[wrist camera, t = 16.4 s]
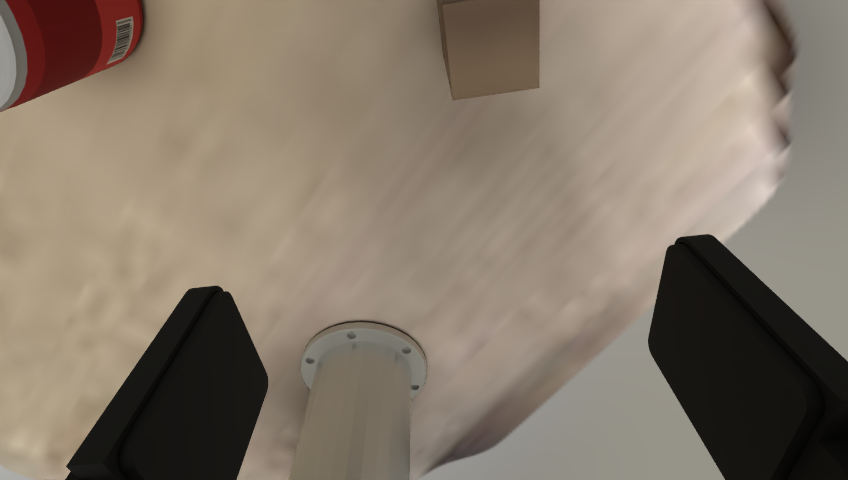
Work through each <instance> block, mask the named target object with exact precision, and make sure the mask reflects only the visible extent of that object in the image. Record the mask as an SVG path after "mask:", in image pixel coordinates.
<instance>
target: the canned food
mask: <svg viewBox="0 0 848 480" xmlns="http://www.w3.org/2000/svg"><path fill="white" fill-rule="evenodd" d="M142 25H143V13H142V5H141V1H140V0H0V112H1V111H4V110H6V109H9V108H12V107H15V106H18V105H20V104H23V103H25V102H27V101H30V100H32V99H35V98H37V97H39V96H42V95H44V94H47V93H49V92H51V91H54V90H56V89H59V88H61V87H64V86H66V85H68V84H71V83H73V82H76V81H78V80H80V79H83V78H85V77H88V76H90V75H93V74H95V73H97V72H100V71H102V70H105V69H107V68H109V67H112V66H114V65H116V64H118V63H120V62H122V61H123V60H125V59H126V58H127V57H128V56H129V55H130V54H131V52H132V51H133V49H134V47H135V46H136V44H137V43H138V41H139V38H140V35H141V32H142Z"/></svg>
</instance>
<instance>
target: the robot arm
mask: <svg viewBox="0 0 848 480" xmlns="http://www.w3.org/2000/svg"><path fill="white" fill-rule="evenodd" d="M648 344H649V350H650V352H651V355H652V357H653V358H654V360H655V362H656V363H657V365H658V367H659V369H660V370H661V372H662V374H663V375H664V377H665V379H666V380H667V382H668V384H669V385H670V387H671V389H672V390H673V392H674V394H675V396H676V397H677V399H678V401H679V402H680V404H681V406H682V407H683V409H684V411H685V413H686V414H687V416H688V418H689V419H690V421H691V423H692V424H693V426H694V428H695V429H696V431H697V433H698V435H699V436H700V438H701V440H702V441H703V443H704V445H705V446H706V448H707V449H708V451H709V453H710V455H711V456H712V458H713V460H714V462H715V463H716V465H717V466H718V468H719V470H720V472H721V473H722V475H723V476H724V478H725V480H848V362H847V361H846V360H845V359H844V358H843V357H842V356H841V355H840V354H839V353H838V352H837V351H836V350H835V349H834V348H833V347H832V346H830V345H829V344H828V343H827V342H826V341H825V340H824V339H823V338H822V337H821V336H820V335H819V334H818V333H817V332H816V331H814V330H813V329H812V328H811V327H810V326H809V325H808V324H807V323H806V322H805V321H804V320H803V319H802V318H801V317H799V316H798V315H797V314H796V313H795V312H794V311H793V310H792V309H791V308H790V307H789V306H788V305H787V304H786V303H784V302H783V301H782V300H781V299H780V298H779V297H778V296H777V295H776V294H775V293H774V292H773V291H772V290H771V289H769V287H767V286H766V285H765V284H764V283H763V282H762V281H761V280H760V279H759V278H758V277H757V276H756V275H755V274H754V273H752V272H751V271H750V270H749V269H748V268H747V267H746V266H745V265H744V264H743V263H742V262H741V261H740V260H739V259H738V258H736V257H735V256H734V255H733V254H732V253H731V252H730V251H729V250H728V249H727V248H726V247H725V246H724V245H723V244H722V243H721V242H719V241H718V240H717V239H716V238H715V237H714V236H712V235H709V234H706V235H696V236H687V237H680V238H678V239H677V240H676V241H675V244H674V245H671V246H669V247H668V248H667V251H666V255H665V260H664V265H663V270H662V275H661V279H660V284H659V289H658V294H657V299H656V303H655V308H654V313H653V318H652V323H651V327H650V333H649V338H648ZM300 369H301V375H302V378H303V380H304V382H305V384H306V386H307V387H308V388H309V389H310V395H309V399H308V403H307V407H306V411H305V415H304V420H303V424H302V428H301V432H300V436H299V440H298V444H297V448H296V452H295V457H294V461H293V465H292V469H291V473H290V477H289V480H409V471H410V418H411V399H413V398H414V397H415V396H416V395H417V394H418V393H419V392H420V391H421V390H422V388H423V386H424V384H425V381H426V376H427V364H426V359H425V356H424V354H423V352H422V350H421V348H420V347H419V346H418V345H417V344H416V342H415V341H413V340H412V339H411V338H410V337H408V336H407V335H405V334H404V333H402V332H400V331H398V330H396V329H393V328H391V327H388V326H385V325H380V324H375V323H365V322H356V323H346V324H341V325H337V326H334V327H331V328H329V329H326V330H324V331H323V332H321V333H319V334H318V335H316V336H315V337H314V338H313V339H312V340H311V341H310V342H309V344H308V345H307V347H306V348H305V350H304V354H303V357H302V360H301V367H300ZM267 389H268V376H267V373H266V371H265V368H264V366H263V364H262V362H261V360H260V357H259V355H258V353H257V351H256V348H255V346H254V344H253V342H252V340H251V337H250V335H249V333H248V331H247V328H246V326H245V324H244V322H243V320H242V317H241V315H240V313H239V311H238V308H237V306H236V304H235V302H234V300H233V297H232V296H231V294H230V293H229V292H227V291H225V292H224V291H223V289H222V288H221V287H219V286H209V287H199V288H192V289H189V290H188V291H187V292H186V293H185V295H184V296H183V298H182V299H181V301H180V302H179V303H178V305H177V306H176V308H175V309H174V311H173V312H172V314H171V315H170V316H169V318H168V319H167V321H166V322H165V324H164V325H163V327H162V328H161V330H160V331H159V332H158V334H157V335H156V337H155V338H154V340H153V341H152V343H151V344H150V346H149V347H148V348H147V350H146V351H145V353H144V354H143V356H142V357H141V359H140V360H139V361H138V363H137V364H136V366H135V367H134V369H133V370H132V372H131V373H130V375H129V376H128V377H127V379H126V380H125V382H124V383H123V385H122V386H121V388H120V389H119V390H118V392H117V393H116V395H115V396H114V398H113V399H112V401H111V402H110V404H109V405H108V406H107V408H106V409H105V411H104V412H103V414H102V415H101V417H100V418H99V419H98V421H97V422H96V424H95V425H94V427H93V428H92V430H91V431H90V433H89V434H88V435H87V437H86V438H85V440H84V441H83V443H82V444H81V446H80V447H79V449H78V450H77V451H76V453H75V454H74V456H73V457H72V459H71V460H70V462H69V463H68V464H67V466H66V467H67V468H68V469H69V470H70V471H71V472H70V473H69V475H68V476H67V478H66V479H65V480H236V479H237V477H238V474H239V471H240V468H241V465H242V462H243V459H244V456H245V453H246V451H247V448H248V445H249V442H250V439H251V436H252V433H253V430H254V427H255V424H256V422H257V419H258V416H259V413H260V410H261V407H262V404H263V401H264V398H265V396H266V393H267Z"/></svg>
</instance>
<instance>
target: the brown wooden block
mask: <svg viewBox="0 0 848 480" xmlns="http://www.w3.org/2000/svg"><path fill="white" fill-rule="evenodd" d="M437 3H438V12H439V21H440V29H441V38H442V47H443V56H444V60H445V65H446V70H447V75H448V79H449V84H450V89H451V94H452V98H453V100H458V99H465V98H472V97H479V96H486V95H493V94H500V93H506V92H513V91H520V90H527V89H534V88H539V0H437Z"/></svg>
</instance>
